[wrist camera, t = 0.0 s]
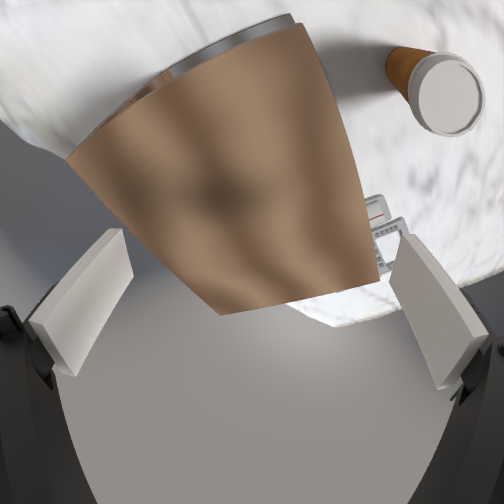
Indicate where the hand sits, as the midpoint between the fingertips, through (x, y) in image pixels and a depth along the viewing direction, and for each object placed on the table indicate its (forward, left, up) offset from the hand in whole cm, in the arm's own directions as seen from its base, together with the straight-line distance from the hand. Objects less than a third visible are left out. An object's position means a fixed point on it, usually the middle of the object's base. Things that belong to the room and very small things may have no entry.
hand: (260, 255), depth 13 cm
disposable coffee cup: (-16, +9, -28) cm, 34 cm away
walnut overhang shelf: (+3, +3, -28) cm, 28 cm away
